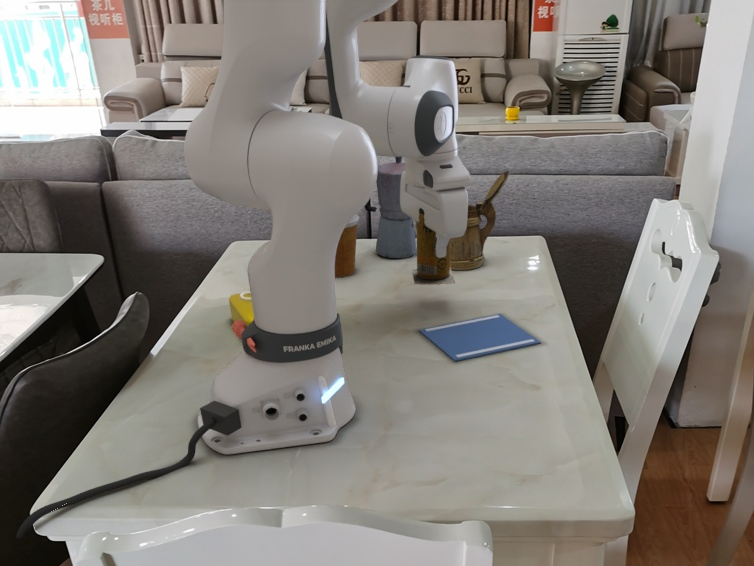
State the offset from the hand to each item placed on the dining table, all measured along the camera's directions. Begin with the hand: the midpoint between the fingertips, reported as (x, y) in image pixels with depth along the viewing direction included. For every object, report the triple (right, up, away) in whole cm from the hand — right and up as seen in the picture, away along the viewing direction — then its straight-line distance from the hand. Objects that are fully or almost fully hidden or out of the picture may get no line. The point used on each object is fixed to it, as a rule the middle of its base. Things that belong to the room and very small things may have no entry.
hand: (431, 250), depth 139 cm
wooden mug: (+10, +6, +25) cm, 27 cm away
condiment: (0, -4, +2) cm, 5 cm away
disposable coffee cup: (-18, +4, +23) cm, 29 cm away
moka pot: (-7, +11, +32) cm, 34 cm away
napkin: (+8, -17, -6) cm, 20 cm away
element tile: (-27, -13, +1) cm, 30 cm away
